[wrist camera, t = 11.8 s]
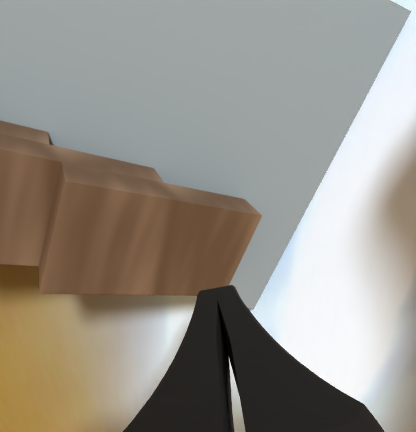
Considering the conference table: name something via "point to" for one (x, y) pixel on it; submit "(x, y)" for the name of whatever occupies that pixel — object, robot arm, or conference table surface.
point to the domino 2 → (140, 236)
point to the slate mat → (202, 93)
